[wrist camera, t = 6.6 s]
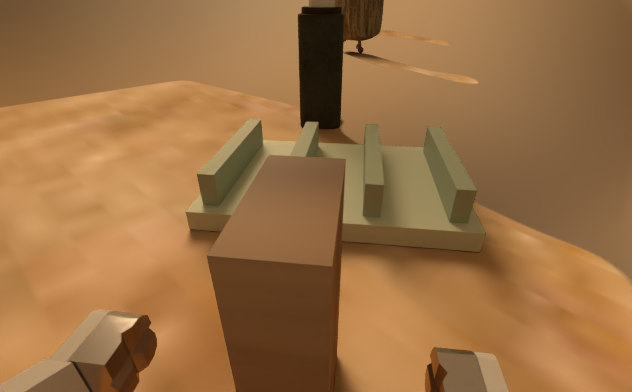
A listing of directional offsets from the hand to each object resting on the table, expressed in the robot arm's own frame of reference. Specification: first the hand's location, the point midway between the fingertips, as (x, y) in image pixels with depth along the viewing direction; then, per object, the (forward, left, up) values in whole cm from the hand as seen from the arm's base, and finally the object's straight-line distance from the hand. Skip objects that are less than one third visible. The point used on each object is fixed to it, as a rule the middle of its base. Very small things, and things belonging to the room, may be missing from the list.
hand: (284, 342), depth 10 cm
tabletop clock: (-53, +90, -6) cm, 104 cm away
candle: (-22, +31, -6) cm, 38 cm away
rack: (-10, +17, -6) cm, 20 cm away
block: (-1, +1, -6) cm, 6 cm away
